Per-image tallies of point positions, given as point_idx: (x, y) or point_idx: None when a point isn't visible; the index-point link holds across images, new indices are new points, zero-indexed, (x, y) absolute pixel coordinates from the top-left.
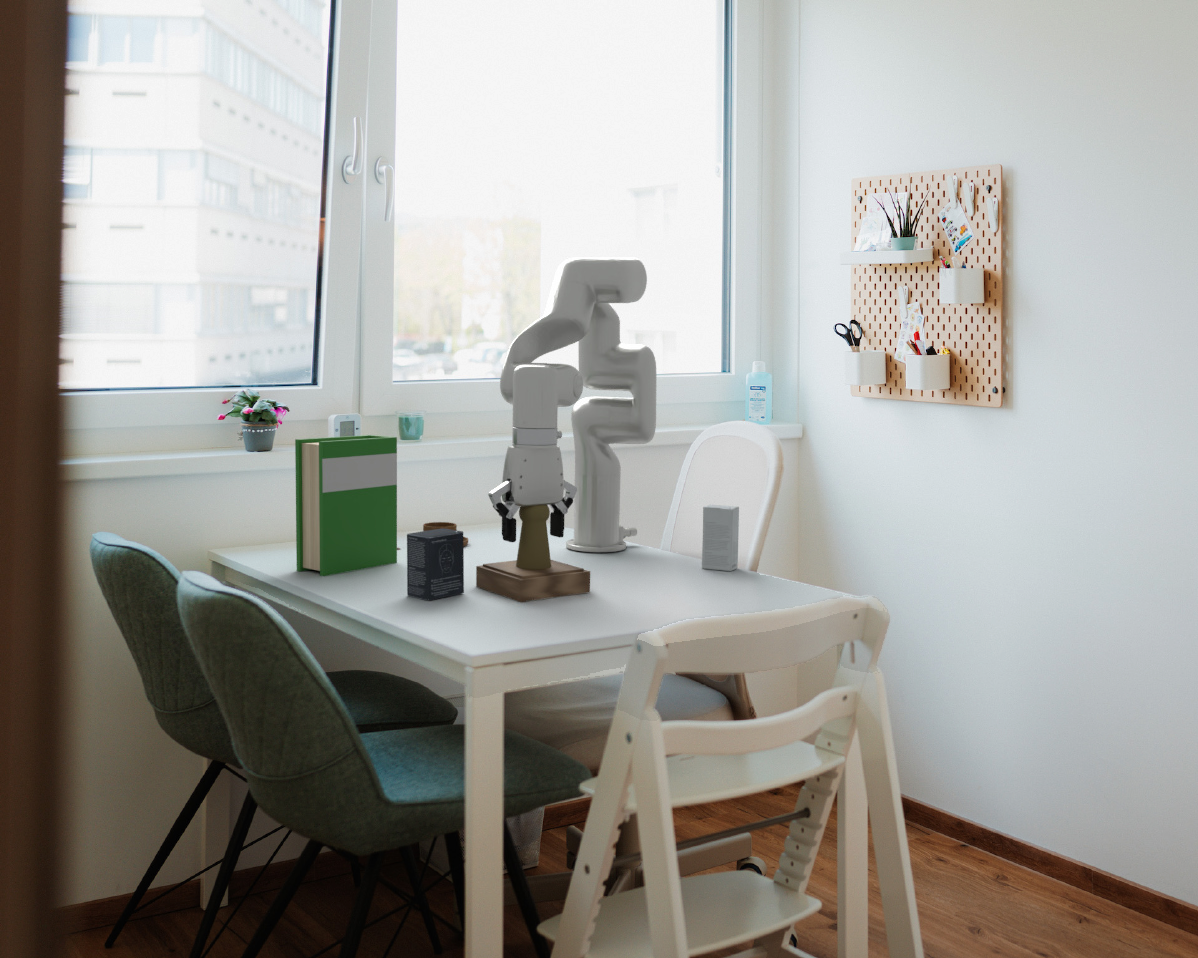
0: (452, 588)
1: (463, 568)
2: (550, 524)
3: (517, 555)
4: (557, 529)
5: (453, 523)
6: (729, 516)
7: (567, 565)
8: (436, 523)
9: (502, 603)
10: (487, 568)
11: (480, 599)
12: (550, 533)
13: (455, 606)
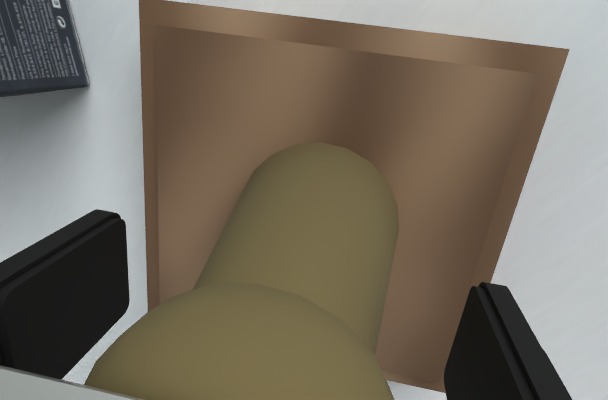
0: (23, 94)
1: (13, 94)
2: (493, 332)
3: (243, 191)
4: (456, 392)
5: None
6: None
7: (445, 303)
8: None
9: (133, 262)
10: (154, 83)
11: (103, 184)
12: (473, 291)
13: (8, 203)
